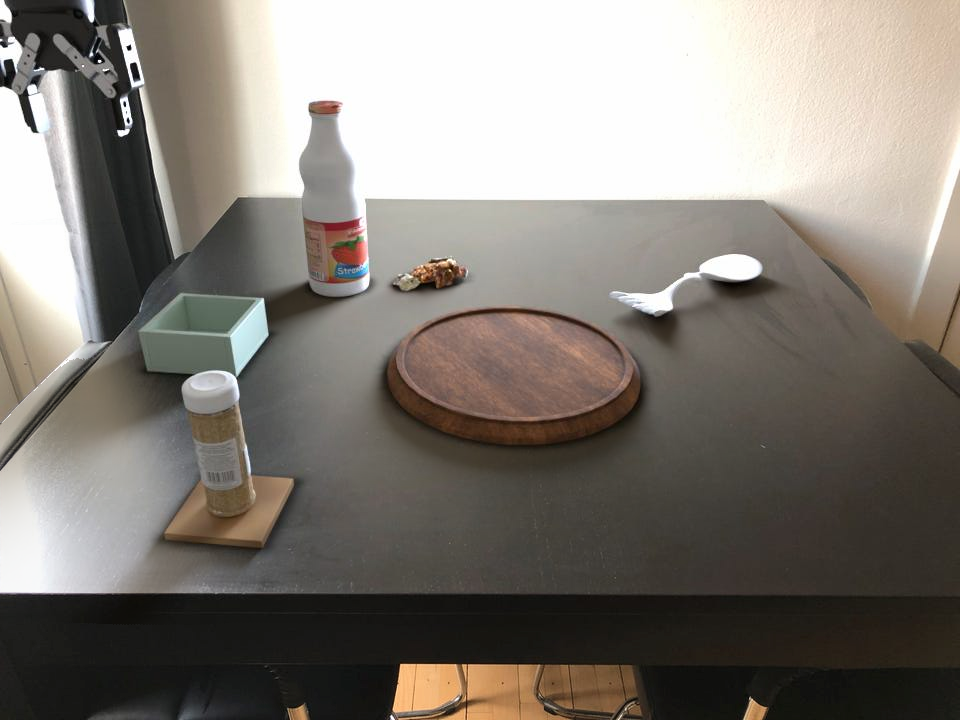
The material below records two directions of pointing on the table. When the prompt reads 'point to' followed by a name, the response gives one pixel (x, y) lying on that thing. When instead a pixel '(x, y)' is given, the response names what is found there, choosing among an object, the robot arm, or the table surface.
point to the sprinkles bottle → (219, 442)
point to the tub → (204, 334)
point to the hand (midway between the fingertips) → (81, 133)
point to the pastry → (432, 274)
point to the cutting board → (514, 375)
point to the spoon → (716, 268)
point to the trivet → (233, 530)
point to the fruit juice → (333, 206)
